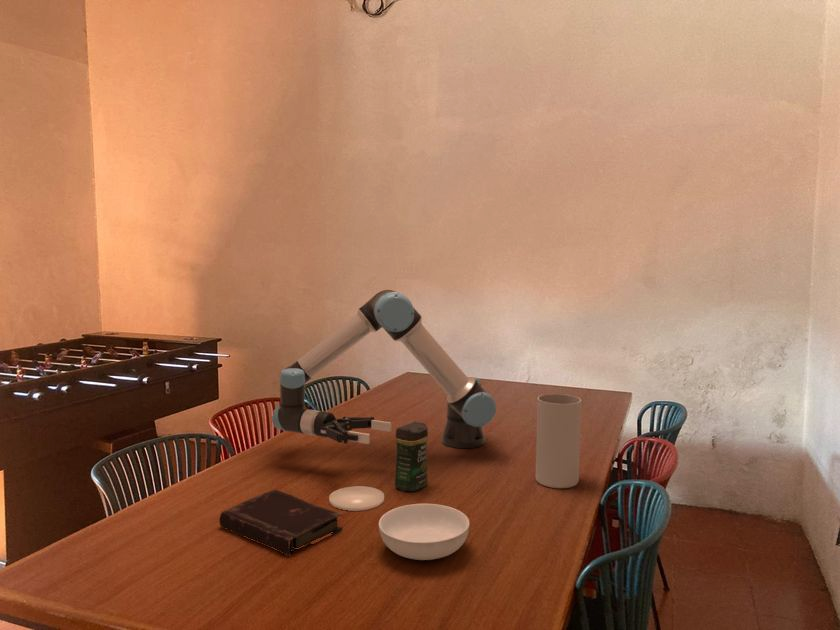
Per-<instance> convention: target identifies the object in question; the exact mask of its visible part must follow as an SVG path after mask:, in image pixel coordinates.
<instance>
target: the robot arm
mask: <svg viewBox="0 0 840 630" xmlns="http://www.w3.org/2000/svg"><path fill="white" fill-rule="evenodd" d="M422 320H423V319H422V315H421V314H420V313H419V311H417V309H416V308H415V307H414V305H413V303H412V301H411V300H410V299H409V298H408V297H407V296H406V295H404V294H403V293H400V292H397V291H395V290H392V289H385V290H381V291H379V292H377V293H376V294H374V295H372V297H371V298H370V299H369V300H367V301H366V303H364V304H363V305H362V306H361V307H359V308H357V314H355V315H354V316H353V317H351V318H350V319H349V320H348V321H346V322H345V323H344V324H342V325H341V326H340V327H339V328H337V329H336V330H334V332H332V333H331V334H330V335H328V336H327V337H326V338H324V339H322V341H320V342H319V343H318V344H317V345H315V346H314V347H313V348H311V350H309V351H308V352H306V353H305V354H304V355H303V356H301V357H300V358H298V359H297V361H295V362H294V363H292V364H291V365H288V366H285V367H284V369H282V370H281V372H280V375H279V390H280V391H279V392H280V396H279V398H280V402H279V405H278V406H276V407H275V409H274V410H273V412H272V413H273V414H272V416H271V422H272V425H273V427H274V428H275V429H277V430H281V431H285V432H292V433H296V434H297V433H299V434H303V435H304V434H305V435H309V437H312V436H318V437H322V438H329V439H331V440H333V441H336V442H337V443H343V444H345V445H346V444H348V442H353V443H359V444H365V445H366V444H367V445H369V444H370V443H371V442H370V441H371V440H370V439H371V436H370V435H371V434H370V433H365V432H357V431H352V430H356V429H371V430H376V431H382V432H388V433H390V432H392V421H391V422H389V421H382V420H377V419H375V417H374V416H371V417H370V416H369V417H365V416H363V417H361V416H360V417H358V416H357V417H354V416H352V417H351V416H343V417H342V418H336V416H335V414H334V413H332V412H329V411H321V410H316V409H308V408H305V407H306V406H305V405H306V404H305V403H306V401H305V397H306V396H305V395H306V394H305V393H306V391H305V390H306V384H307V383H308V382H309V381H310V380H312V378H314V377H315V376H316V375H318V374H319V373H320V372H322V371H323V370H324V369H326V368H327V367H328V366H329V365H330V364H332V363H333V362H334V361H336V360H337V359H338V358H339V357H341V356H343V354H344V353H346V352H347V351H349V350H350V349H352V348H353V346H354V345H356V344H357V343H359V342H360V341H361V340H363V339H364V338H365V337H367V336H368V335H369V334H370V333H376V332H378V331H379V330H380V329H382V328H383V330H384V331H385V332H386V333H387V334H388V336H389V337H390V338H391V339H392V340H393V341H394V342H401V343H402V344H403V345H404V347H405V348H406V349H407V350H408V351H409V352H410V353H411V355H412V356H413V357H414V358H415V359H416V360H417V361H418V363H420V365H421V366H422V367H423V368H424V369H425V370H426V372H427V373H428V374H429V375H430V376H431V377H432V379H434V381H435V382H436V383H437V384H438V385H439V387H440V388H441V389H442V390H443V391H444V392H445V393H446V422H445V424H444V428H443V431H442V434H441V443H442V444H444V445H445V446H446V447H451V448H456V449H457V448H458V449H475V448H478V447H481V446H483V445H484V444H485V443H486V442H485V441H486V440H485V439H486V438H485V437H486V436H485V432H484V430H483V427H484V426H487V425H488V424H490V422H491V421H492V420H493V419H494V418H495V415H496V412H497V404H496V400H495V399H494V397H493V396H492V394H489V392H487V391H486V390H485V389H484V388H483V386H481V385H482V383H481V379H480V378H479V377H473V376H467V375H466V373H464V372H463V370H462V368H460V367H459V366H458V364H456V362H455V361H454V360H453V359H452V358H451V356H450V355H449V354H448V353H447V352H446V350H444V349H443V347H442V346H441V344H439V343H438V342H437V340H436V339H435V337H433V335H432V334H431V333H430V332H429V331H428V329H427V328H426V327H425V326H424V325H423V323H422V322H423V321H422Z"/></svg>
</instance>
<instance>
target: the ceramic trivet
mask: <svg viewBox="0 0 840 630" xmlns="http://www.w3.org/2000/svg"><path fill="white" fill-rule="evenodd" d="M328 500H329V501H328V502H329V504H330V506H332V507H334V508H335V509H337V508H338V510H341V509H342V511H346V510H348V512H361V511H368V510H371V509H375V508H377V507H379V506H381V505H382V504H383V503H384V502H385V494H384V492H383V491H381V490H380V489H378V488H375V487H372V486H364V485H354V486H347V487H346V486H344V487H341V488H339V489H337V490H334V491H332V492H331V493H330V495H329V497H328Z"/></svg>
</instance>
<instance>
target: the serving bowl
mask: <svg viewBox="0 0 840 630" xmlns="http://www.w3.org/2000/svg"><path fill="white" fill-rule="evenodd" d="M378 531H379V535H380V538H381V539H382V541H383V543H384V544H385V546H386V547H387V548H388V549H389V550H391V552H393V553H395V554H397V555H398V556H400V557H403V558H407V559H410V560H418V561H425V560H426V561H432V560H436V559H441V558H445V557H447V556H450V555H452V554H453V553H455V552H456V551H458V550H459V549H460V548H461V547H462V546H463V545H464V543H465V542H466V540H467V538H468V536H469V535H468V534H469V531H470V519H469V517H468V516H467V515H466V514H465V513H463V512H462V511H460V509H459V510H458V509H456V508H454V507H451V506H447V505H443V504H438V503H414V504H413V503H412V504H406V505H402V506H398V507H394V508H393V509H390V510H389V511H387V512H385V513H384V514H383V515H382V516H381V517H380V519H379V520H378Z"/></svg>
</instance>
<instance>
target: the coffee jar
mask: <svg viewBox="0 0 840 630" xmlns="http://www.w3.org/2000/svg"><path fill="white" fill-rule="evenodd" d="M428 429H429V428H428V426H427V425H426V424H425V423H423V422H420V421H412V422H410V423H407V424H404V425H402V426H399V427H397V428H396V430H395V444H396V461H395V462H396V463H395V464H396V466H395V472H394V473H395V474H394V475H395V476H394V477H395V479H394V487H396V488H397V489H399V490H400V491H403V492H406V491H407V492H408V491H409V492H416V491H418V490H420V489H422V488H423V487H425V486H427V484H428V467H427V443H428V439H429V433H428Z"/></svg>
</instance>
